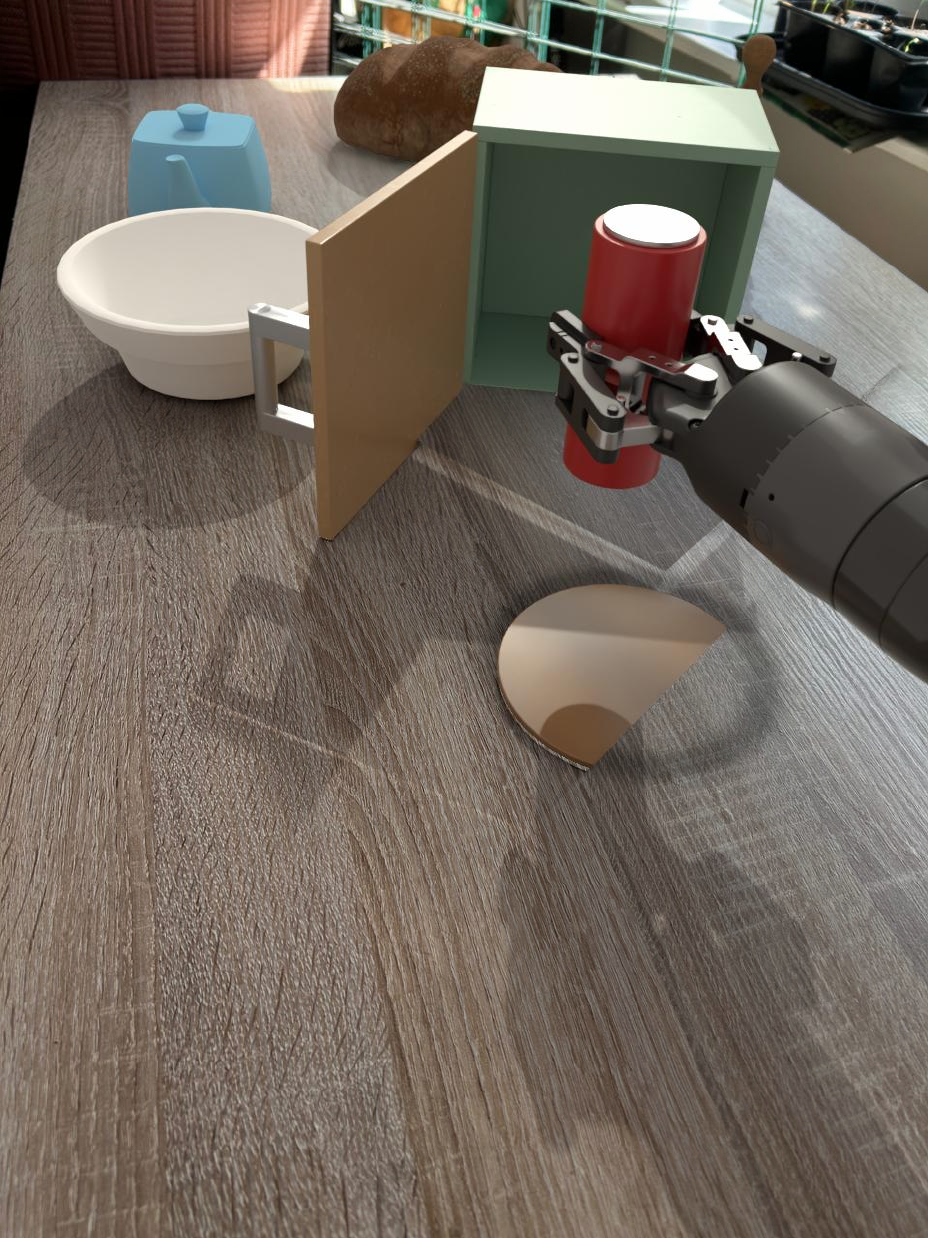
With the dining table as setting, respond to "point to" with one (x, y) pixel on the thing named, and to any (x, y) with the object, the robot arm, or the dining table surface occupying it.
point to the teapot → (197, 162)
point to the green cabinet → (599, 199)
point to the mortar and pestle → (757, 60)
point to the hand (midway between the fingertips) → (604, 317)
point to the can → (637, 312)
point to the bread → (420, 94)
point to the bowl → (189, 294)
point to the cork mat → (597, 662)
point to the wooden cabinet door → (376, 329)
